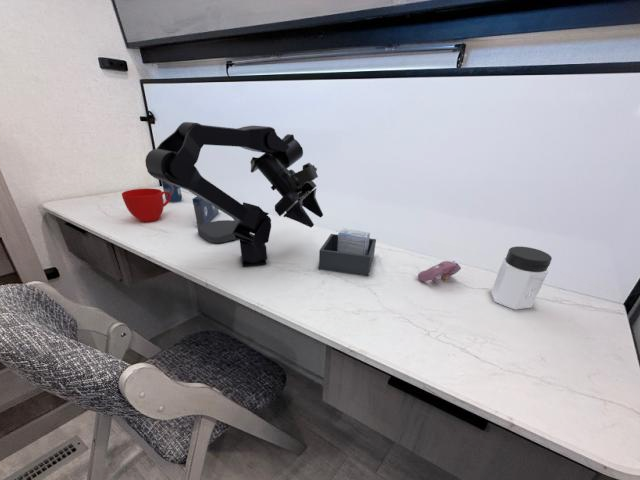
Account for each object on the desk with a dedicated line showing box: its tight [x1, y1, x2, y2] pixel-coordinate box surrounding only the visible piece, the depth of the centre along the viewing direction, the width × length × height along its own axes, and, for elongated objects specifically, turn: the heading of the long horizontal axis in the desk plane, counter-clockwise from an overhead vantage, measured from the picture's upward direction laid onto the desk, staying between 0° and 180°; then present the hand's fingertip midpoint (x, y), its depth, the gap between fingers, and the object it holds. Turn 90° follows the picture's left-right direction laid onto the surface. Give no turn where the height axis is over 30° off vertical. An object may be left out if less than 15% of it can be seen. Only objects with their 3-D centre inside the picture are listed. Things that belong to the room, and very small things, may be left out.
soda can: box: [161, 181, 183, 203], centre depth 136 cm, size 7×7×12 cm
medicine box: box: [337, 228, 371, 255], centre depth 85 cm, size 8×4×9 cm, turn 68°
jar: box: [490, 246, 553, 310], centre depth 69 cm, size 9×8×12 cm
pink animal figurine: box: [417, 260, 462, 284], centre depth 78 cm, size 10×5×7 cm, turn 118°
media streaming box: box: [197, 219, 237, 244], centre depth 103 cm, size 15×15×3 cm
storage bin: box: [318, 233, 377, 277], centre depth 86 cm, size 14×14×6 cm
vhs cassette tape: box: [192, 196, 220, 228], centre depth 114 cm, size 18×3×10 cm, turn 178°
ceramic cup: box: [121, 187, 170, 223], centre depth 114 cm, size 13×17×10 cm
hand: (317, 221), depth 84 cm, fingers open, 9 cm apart
